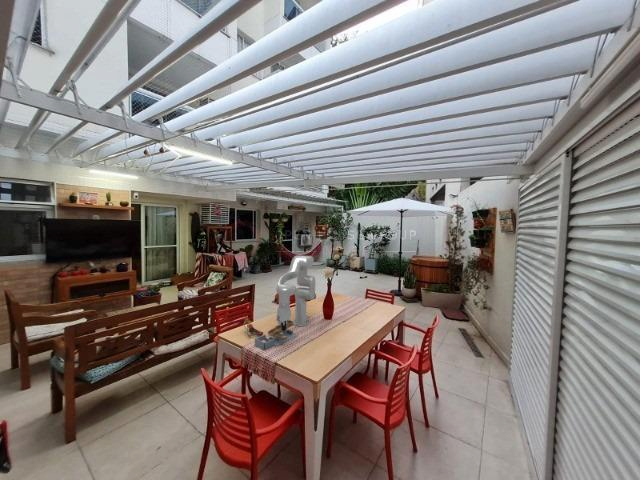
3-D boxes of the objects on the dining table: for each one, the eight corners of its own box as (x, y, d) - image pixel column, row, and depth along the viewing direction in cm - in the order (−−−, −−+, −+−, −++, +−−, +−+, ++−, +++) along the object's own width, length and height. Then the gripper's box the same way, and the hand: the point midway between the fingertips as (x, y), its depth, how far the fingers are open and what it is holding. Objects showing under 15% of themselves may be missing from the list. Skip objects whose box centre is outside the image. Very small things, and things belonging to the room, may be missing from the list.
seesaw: (287, 322, 199) (287, 319, 199) (301, 328, 190) (301, 324, 189) (268, 334, 184) (267, 330, 184) (282, 341, 175) (282, 337, 174)
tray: (264, 340, 185) (265, 334, 184) (274, 345, 178) (274, 338, 178) (254, 345, 178) (254, 338, 177) (264, 350, 171) (264, 343, 171)
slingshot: (260, 328, 206) (267, 329, 194) (252, 340, 201) (259, 341, 188) (244, 317, 201) (250, 317, 189) (236, 328, 196) (241, 329, 184)
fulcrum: (286, 331, 201) (286, 321, 201) (297, 336, 194) (297, 325, 193) (265, 340, 185) (265, 329, 184) (276, 346, 177) (276, 334, 177)
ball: (264, 339, 180) (261, 338, 177) (268, 341, 178) (264, 340, 175) (262, 345, 179) (259, 344, 176) (265, 346, 177) (262, 345, 174)
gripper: (288, 300, 185) (287, 325, 186) (272, 306, 173) (272, 331, 175) (295, 303, 180) (295, 328, 182) (279, 309, 168) (279, 335, 170)
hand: (283, 329), depth 178 cm, fingers closed
